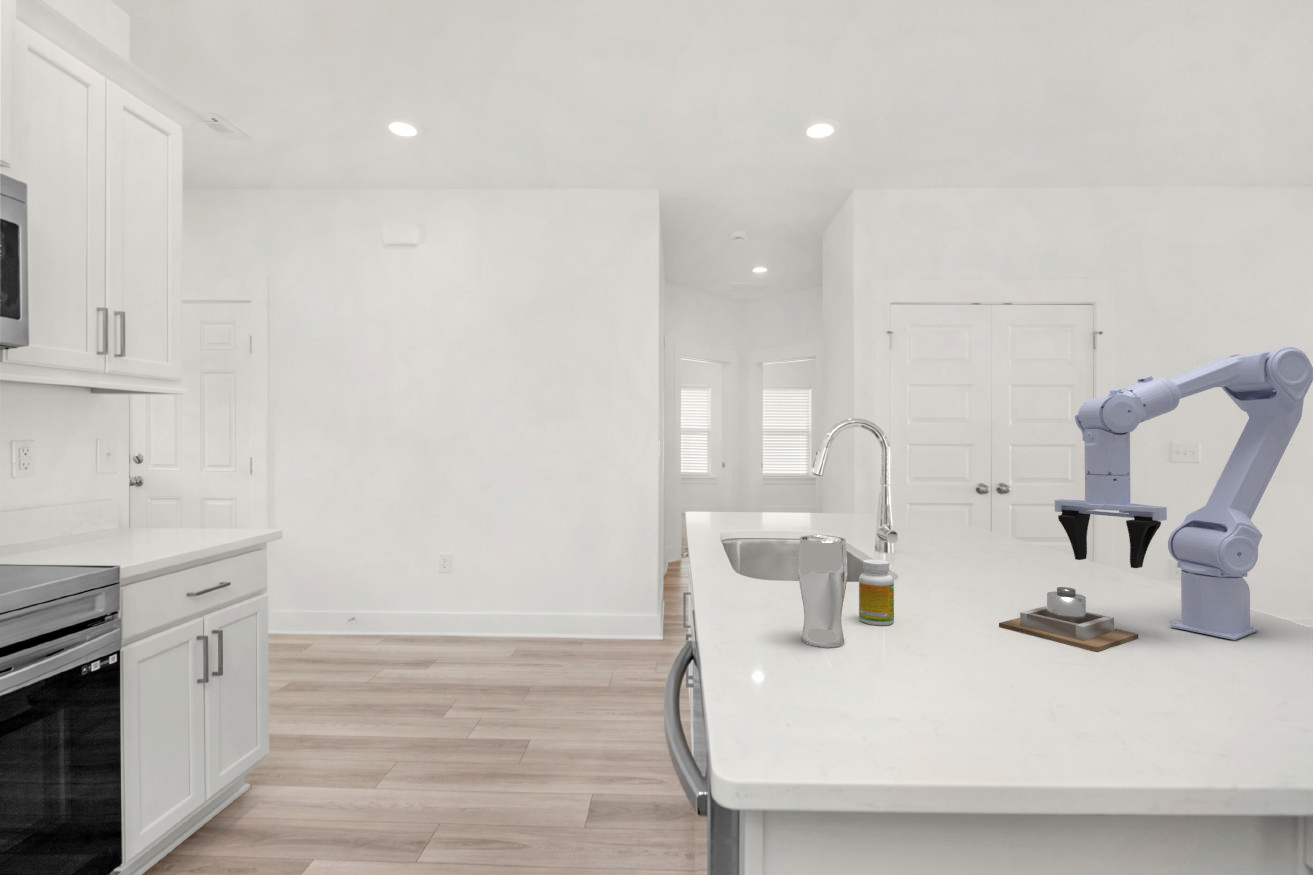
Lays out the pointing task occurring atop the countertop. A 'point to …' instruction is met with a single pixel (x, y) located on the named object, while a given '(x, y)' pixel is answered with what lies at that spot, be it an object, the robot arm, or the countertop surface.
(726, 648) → the countertop surface
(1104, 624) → the carrier board
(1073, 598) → the chrome knobbed weight
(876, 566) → the supplement bottle
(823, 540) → the beer glass
